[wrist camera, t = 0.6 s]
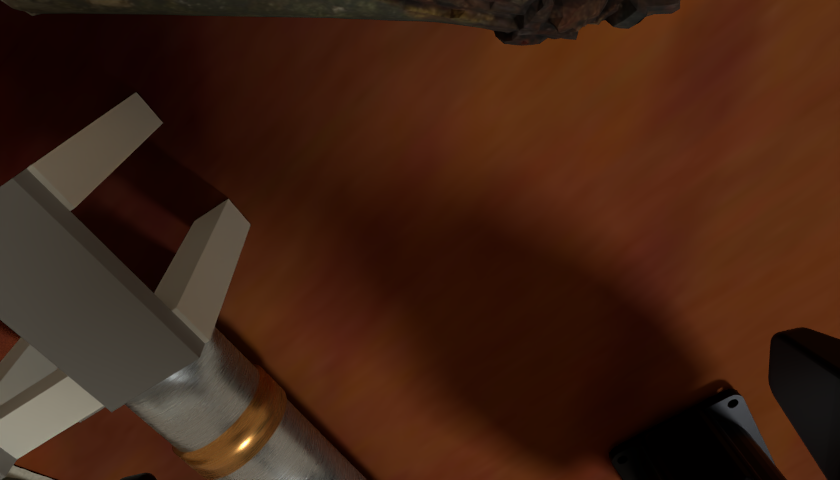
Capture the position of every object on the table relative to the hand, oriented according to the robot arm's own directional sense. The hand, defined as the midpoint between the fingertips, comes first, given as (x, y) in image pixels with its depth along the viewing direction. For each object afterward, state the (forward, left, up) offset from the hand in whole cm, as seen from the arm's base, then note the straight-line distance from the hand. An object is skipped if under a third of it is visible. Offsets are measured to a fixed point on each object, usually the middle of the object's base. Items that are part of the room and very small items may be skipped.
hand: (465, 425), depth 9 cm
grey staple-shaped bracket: (+3, +11, -14) cm, 18 cm away
